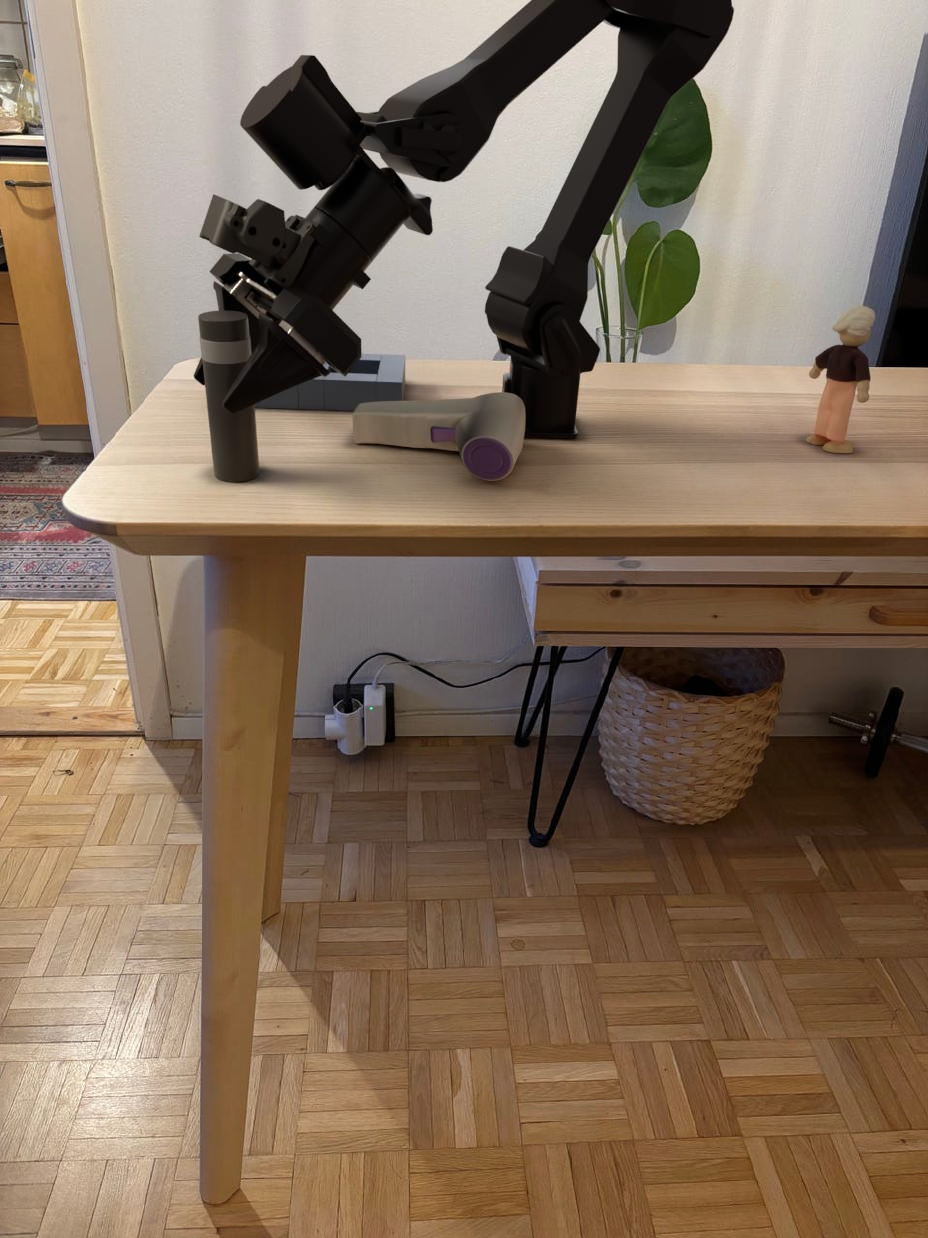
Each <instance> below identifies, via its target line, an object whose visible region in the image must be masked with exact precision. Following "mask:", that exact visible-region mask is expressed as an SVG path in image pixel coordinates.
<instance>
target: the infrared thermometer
mask: <svg viewBox="0 0 928 1238" xmlns="http://www.w3.org/2000/svg"><path fill="white" fill-rule="evenodd" d="M351 417H352V428H353V429H352V431H353V440H354V444H378V445H388V446H396V447H397V446H398V447H406V448H414V449H435V450H446V451H453V452H459V453H458V454H459V456H460V459H461V462H462V464H463V466H464V468H465V469H466V470H467V471H468V472H469V473H470V474H471V475H472V476H474V477H476V478H478V479H481V480H484V481H489V482H490V481H491V482H493V481H501V480H503V479H505V478H507V476H509V474H511V473H512V471H513V469H514V467H515V465H516V462H517V460H518V458H519V456H520V454H521V453H522V450H523V446H524V440H525V436H524V433H525V421H526V416H525V406H524V403H523V401H522V399H521V398H520V397H518V396H517V395H515V394H511V393H506V392H502V391H501V392H499V391H498V392H497V391H496V392H490V393H489V392H488V393H484V394H480V395H477V396H475V397H468V398H467V397H465V398H449V399H448V398H447V399H428V400H425V399H424V400H403V401H381V402H368V403H360V404H358V406H357V407H356V409H355V410H354V411H352V416H351Z"/></svg>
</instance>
